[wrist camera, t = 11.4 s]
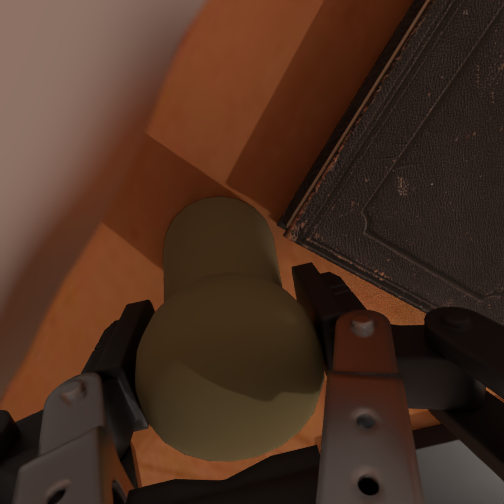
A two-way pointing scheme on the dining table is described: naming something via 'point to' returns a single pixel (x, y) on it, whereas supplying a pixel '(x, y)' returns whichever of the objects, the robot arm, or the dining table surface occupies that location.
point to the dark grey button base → (453, 470)
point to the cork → (226, 340)
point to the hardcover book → (419, 166)
